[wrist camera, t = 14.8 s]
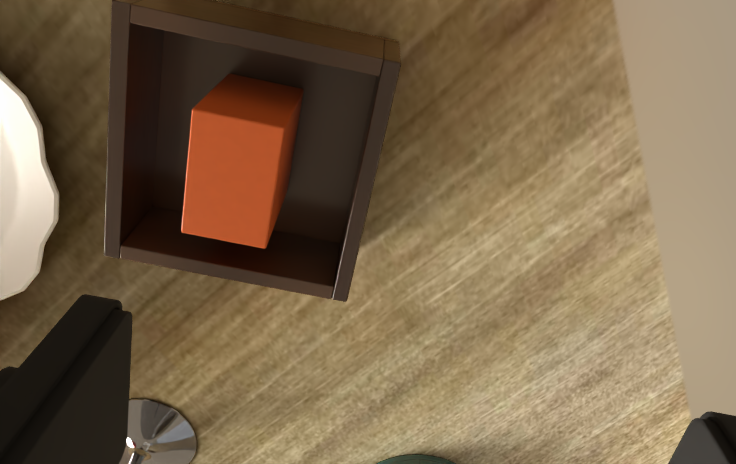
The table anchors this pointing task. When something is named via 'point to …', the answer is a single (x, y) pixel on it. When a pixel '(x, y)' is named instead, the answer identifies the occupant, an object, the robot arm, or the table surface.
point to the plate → (23, 192)
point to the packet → (240, 159)
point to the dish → (416, 460)
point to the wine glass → (157, 435)
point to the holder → (311, 152)
